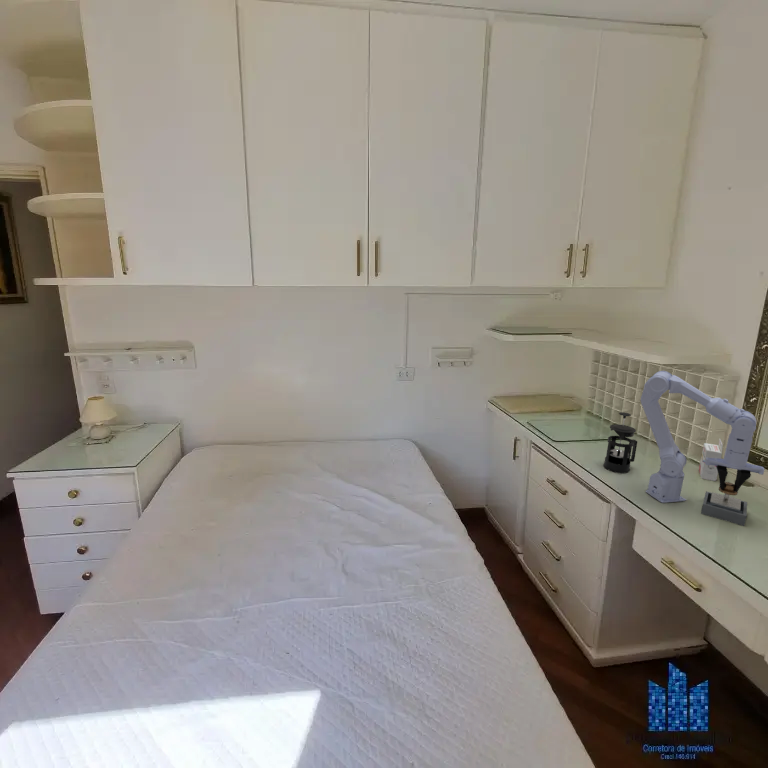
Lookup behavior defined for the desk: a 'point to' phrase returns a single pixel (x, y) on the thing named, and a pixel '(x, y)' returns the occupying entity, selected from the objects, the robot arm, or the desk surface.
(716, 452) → the ink cartridge box
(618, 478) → the desk surface
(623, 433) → the french press
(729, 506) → the plunger
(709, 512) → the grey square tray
